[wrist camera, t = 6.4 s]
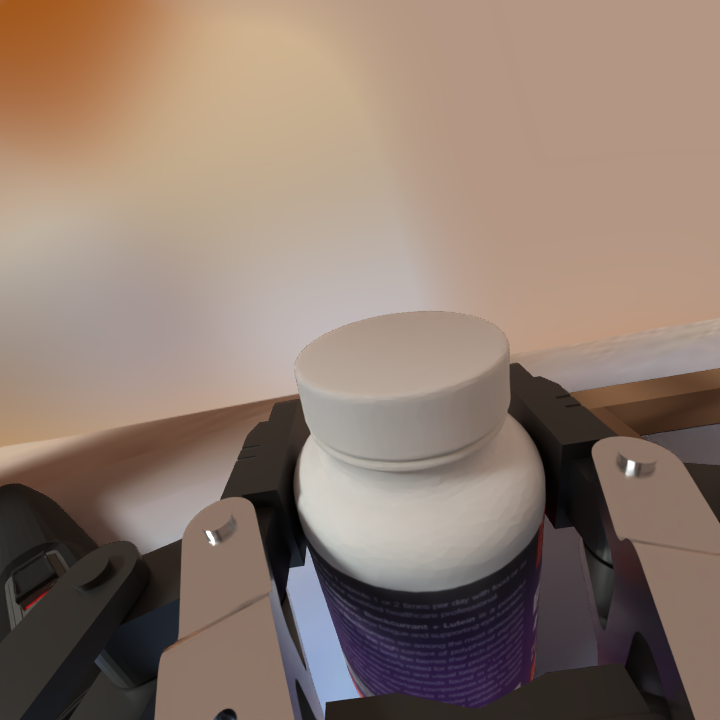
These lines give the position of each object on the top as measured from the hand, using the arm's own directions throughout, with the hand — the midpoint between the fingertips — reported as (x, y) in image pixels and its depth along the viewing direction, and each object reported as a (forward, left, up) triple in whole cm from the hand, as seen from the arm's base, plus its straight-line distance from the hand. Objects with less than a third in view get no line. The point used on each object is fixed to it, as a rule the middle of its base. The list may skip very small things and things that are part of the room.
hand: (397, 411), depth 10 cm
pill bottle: (0, -3, -7) cm, 7 cm away
